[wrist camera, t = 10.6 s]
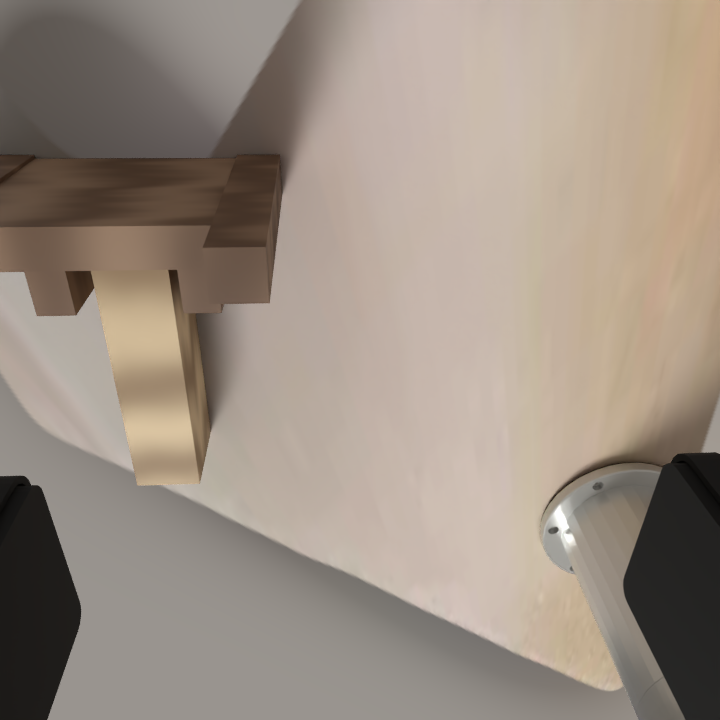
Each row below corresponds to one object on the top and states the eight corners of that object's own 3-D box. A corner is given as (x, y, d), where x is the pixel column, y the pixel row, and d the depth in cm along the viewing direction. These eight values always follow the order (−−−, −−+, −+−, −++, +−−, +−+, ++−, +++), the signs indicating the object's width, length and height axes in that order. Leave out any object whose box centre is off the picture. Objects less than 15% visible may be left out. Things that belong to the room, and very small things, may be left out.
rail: (112, 206, 37) (84, 241, 33) (181, 206, 38) (163, 240, 33) (154, 432, 46) (137, 485, 41) (210, 431, 46) (199, 483, 42)
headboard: (279, 154, 36) (265, 247, 24) (285, 263, 40) (275, 390, 28) (-11, 154, 35) (-173, 251, 23) (21, 266, 39) (-106, 400, 27)
